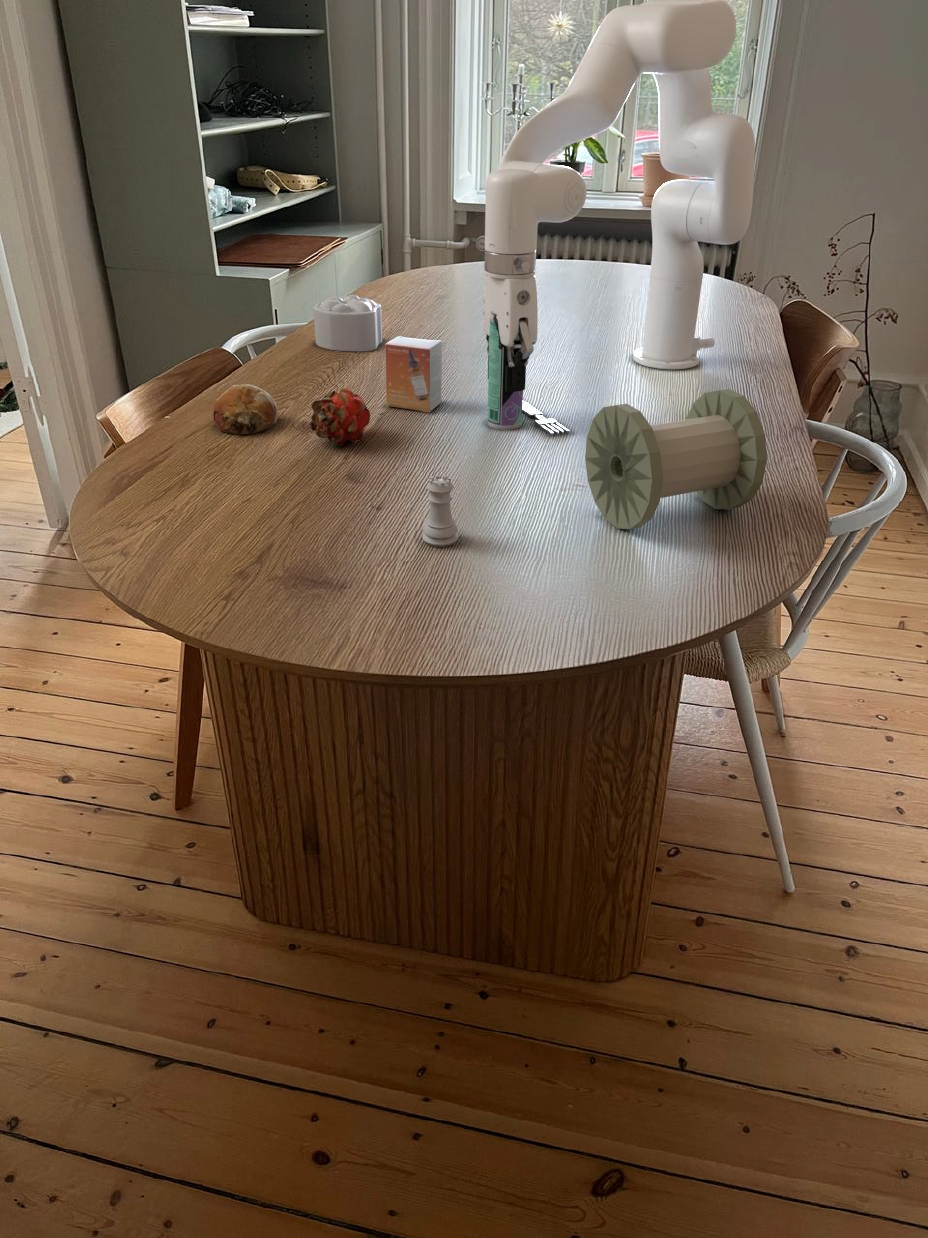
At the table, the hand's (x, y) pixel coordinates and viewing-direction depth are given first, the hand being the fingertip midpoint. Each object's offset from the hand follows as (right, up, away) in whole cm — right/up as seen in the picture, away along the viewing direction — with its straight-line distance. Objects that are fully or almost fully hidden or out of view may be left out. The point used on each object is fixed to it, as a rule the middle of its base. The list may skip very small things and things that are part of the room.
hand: (506, 383), depth 146 cm
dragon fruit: (-25, -10, -3) cm, 27 cm away
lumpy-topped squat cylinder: (-30, +19, +42) cm, 55 cm away
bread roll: (-41, -6, +2) cm, 41 cm away
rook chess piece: (-9, -27, -32) cm, 43 cm away
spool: (+20, -23, -24) cm, 39 cm away
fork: (+5, -4, +6) cm, 9 cm away
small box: (-15, -1, +11) cm, 19 cm away
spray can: (0, -6, +3) cm, 7 cm away
